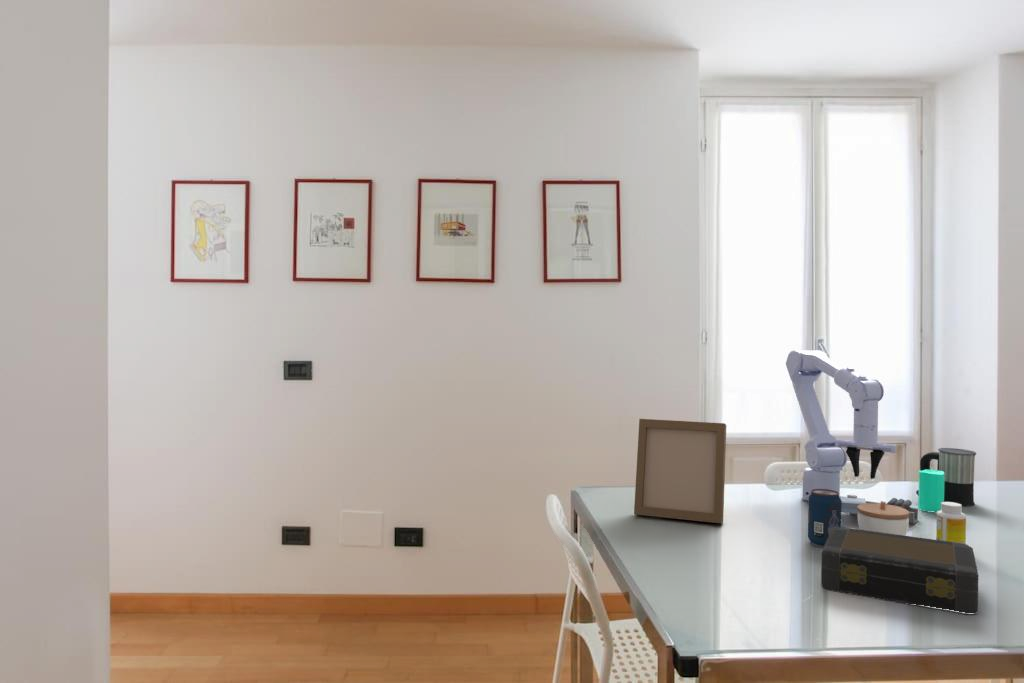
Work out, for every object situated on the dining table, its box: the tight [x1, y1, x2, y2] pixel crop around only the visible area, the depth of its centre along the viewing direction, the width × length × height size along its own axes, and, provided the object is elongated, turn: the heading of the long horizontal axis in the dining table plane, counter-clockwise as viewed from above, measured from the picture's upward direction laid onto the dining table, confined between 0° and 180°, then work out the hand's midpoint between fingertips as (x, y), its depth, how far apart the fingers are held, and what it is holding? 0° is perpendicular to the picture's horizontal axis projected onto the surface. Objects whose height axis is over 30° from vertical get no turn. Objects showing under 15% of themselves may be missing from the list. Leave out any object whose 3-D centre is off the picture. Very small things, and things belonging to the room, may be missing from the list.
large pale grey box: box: [848, 500, 919, 526], centre depth 185 cm, size 16×6×3 cm, turn 51°
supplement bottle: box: [935, 502, 967, 544], centre depth 158 cm, size 6×6×10 cm
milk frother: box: [915, 447, 977, 506], centre depth 200 cm, size 14×16×15 cm
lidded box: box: [840, 494, 867, 514], centre depth 183 cm, size 16×6×2 cm, turn 156°
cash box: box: [820, 526, 979, 614], centre depth 136 cm, size 25×20×8 cm
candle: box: [917, 465, 945, 512], centre depth 192 cm, size 6×6×12 cm
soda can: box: [807, 489, 842, 548], centre depth 161 cm, size 7×7×12 cm
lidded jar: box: [856, 500, 910, 536], centre depth 163 cm, size 11×11×9 cm
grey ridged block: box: [886, 497, 913, 510], centre depth 182 cm, size 5×9×2 cm, turn 141°
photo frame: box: [633, 418, 727, 524], centre depth 185 cm, size 15×22×25 cm
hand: (864, 477), depth 187 cm, fingers open, 3 cm apart
